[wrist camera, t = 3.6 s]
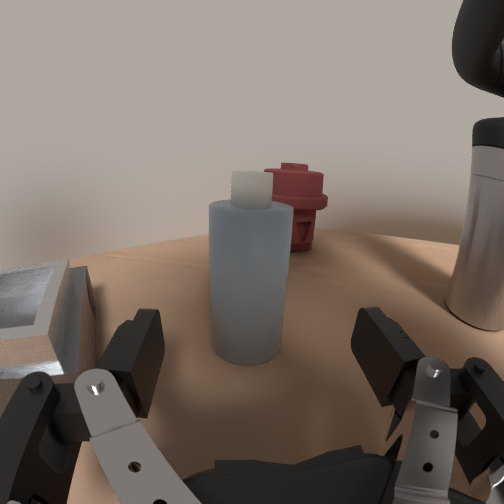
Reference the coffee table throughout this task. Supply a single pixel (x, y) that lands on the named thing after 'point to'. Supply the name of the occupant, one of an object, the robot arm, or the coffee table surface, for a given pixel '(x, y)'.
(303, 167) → the mechanical component
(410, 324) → the coffee table surface
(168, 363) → the coffee table surface
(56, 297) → the square grey open box
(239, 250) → the pale blue squeeze bottle
